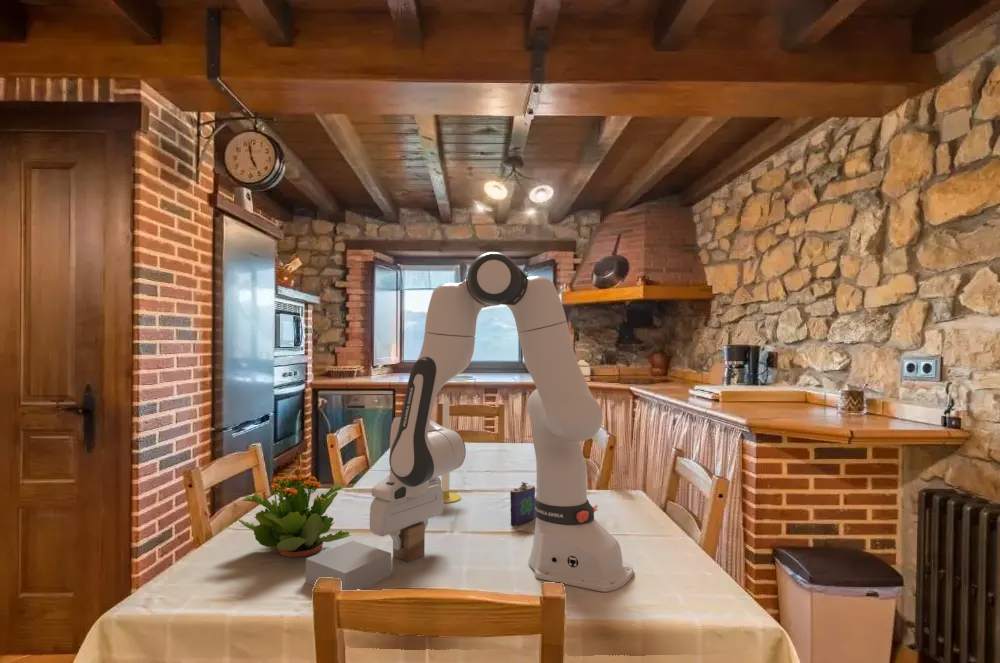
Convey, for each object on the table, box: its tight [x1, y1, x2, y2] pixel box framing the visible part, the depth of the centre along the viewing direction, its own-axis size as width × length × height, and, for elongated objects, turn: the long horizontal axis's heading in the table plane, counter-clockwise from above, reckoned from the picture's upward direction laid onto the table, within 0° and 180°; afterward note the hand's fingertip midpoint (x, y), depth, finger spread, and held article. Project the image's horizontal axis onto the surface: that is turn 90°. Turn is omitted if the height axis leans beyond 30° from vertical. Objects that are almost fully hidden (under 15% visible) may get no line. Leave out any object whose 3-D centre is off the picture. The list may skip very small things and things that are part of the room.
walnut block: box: [392, 523, 426, 563], centre depth 122 cm, size 5×5×7 cm
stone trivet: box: [305, 540, 392, 590], centre depth 110 cm, size 12×12×5 cm
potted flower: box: [237, 474, 352, 558], centre depth 125 cm, size 25×24×18 cm
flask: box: [509, 481, 536, 527], centre depth 146 cm, size 9×3×11 cm, turn 138°
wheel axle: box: [441, 394, 462, 504], centre depth 167 cm, size 10×10×32 cm
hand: (408, 543), depth 122 cm, fingers closed on walnut block, 5 cm apart
